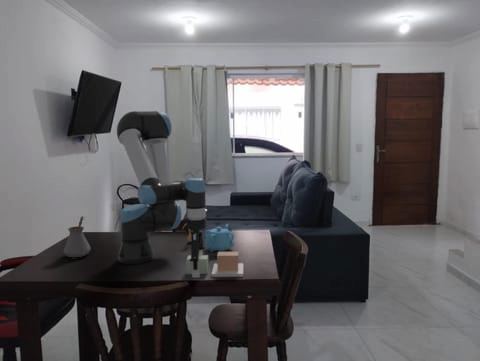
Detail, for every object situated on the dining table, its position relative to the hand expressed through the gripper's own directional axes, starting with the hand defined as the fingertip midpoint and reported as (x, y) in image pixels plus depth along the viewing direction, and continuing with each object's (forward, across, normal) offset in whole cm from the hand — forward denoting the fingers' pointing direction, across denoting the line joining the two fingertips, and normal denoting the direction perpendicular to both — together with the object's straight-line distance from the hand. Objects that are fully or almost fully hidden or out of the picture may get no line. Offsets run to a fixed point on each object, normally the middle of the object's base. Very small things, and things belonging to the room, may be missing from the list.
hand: (198, 271), depth 163 cm
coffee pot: (0, +27, +58) cm, 64 cm away
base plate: (0, 0, -12) cm, 12 cm away
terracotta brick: (-1, 0, -12) cm, 12 cm away
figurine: (0, +41, +8) cm, 42 cm away
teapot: (0, +29, -7) cm, 30 cm away
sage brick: (0, 0, 0) cm, 0 cm away
